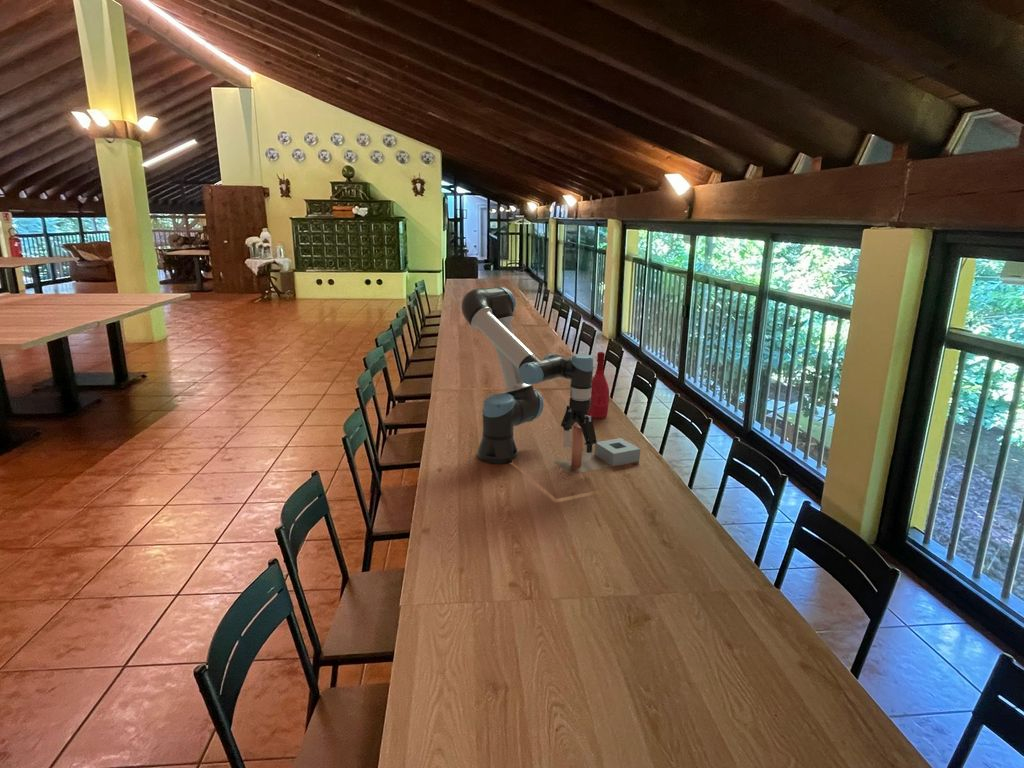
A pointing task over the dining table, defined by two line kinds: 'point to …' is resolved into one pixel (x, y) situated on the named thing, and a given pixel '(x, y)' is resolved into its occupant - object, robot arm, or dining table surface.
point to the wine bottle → (599, 391)
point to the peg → (577, 446)
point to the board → (585, 465)
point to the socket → (617, 452)
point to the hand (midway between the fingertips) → (576, 453)
